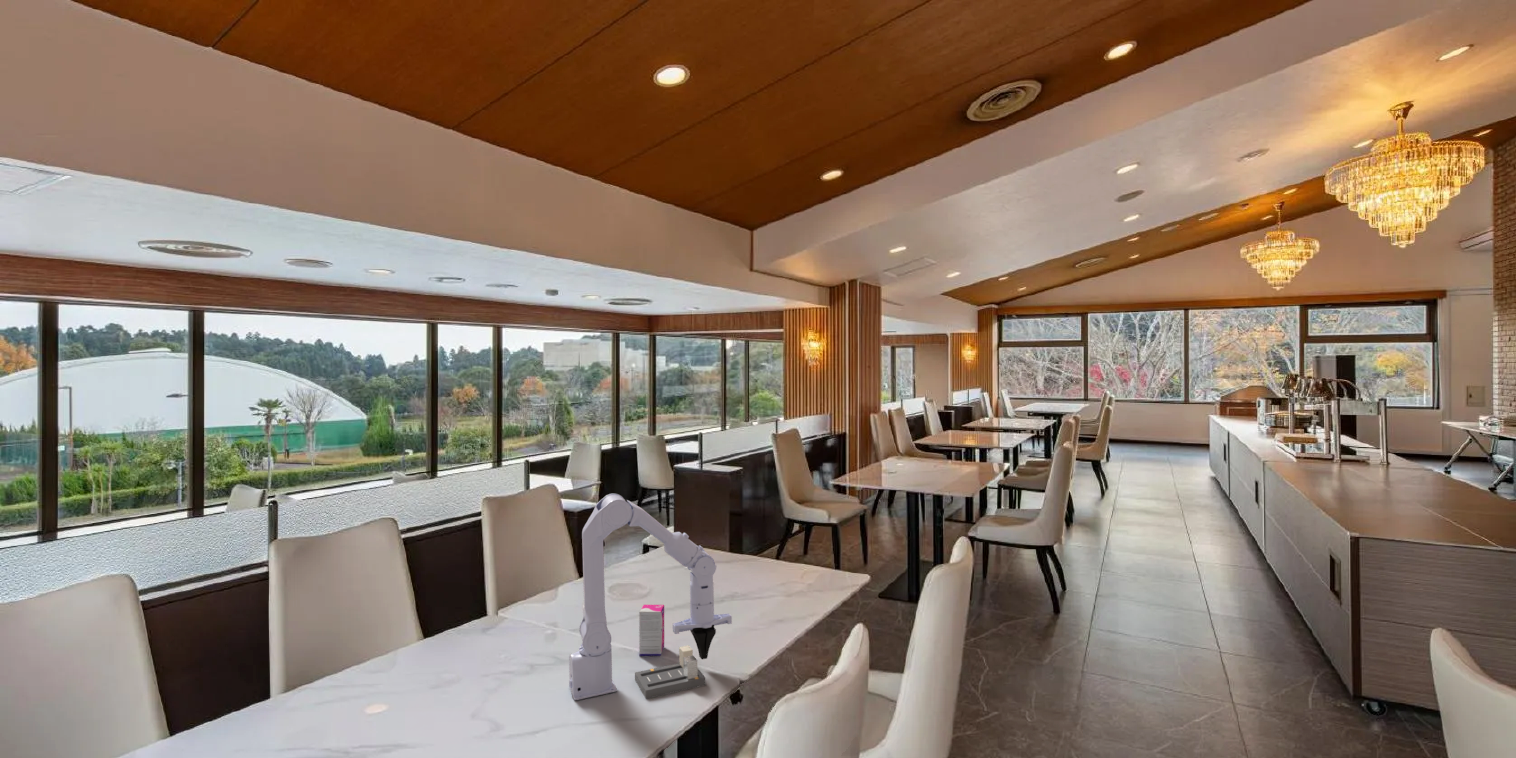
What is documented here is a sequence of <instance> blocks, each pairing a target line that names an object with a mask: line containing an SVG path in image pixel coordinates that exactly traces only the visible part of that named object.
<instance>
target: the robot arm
mask: <svg viewBox="0 0 1516 758" xmlns="http://www.w3.org/2000/svg"><path fill="white" fill-rule="evenodd" d="M626 525H628V527H640V528H641V529H643V530H644V531H646V532H647V533H649V534H650V535H651V536H653V537H654V538H655V539H657V540H658V541H660V542H661V543H663V549H664V553H666V554H667V555H668V556H670V557H671V558H672V559H674V560H675V561H676V562H678V563H679V564H680V565H681V566H683V567H684V568H687V569H688V570H689V571H690V573H689V580H690V581H689V600H690V603H689V604H690V605H689V607H690V609H689V610H690V618H685V619H684V620H682V621H681V620H680V621H677V622H673V623H672V632H673V633H674V634H675V635H678V634H680V633H683V632H687V631H688V632H689V631H690V633H691V635H692V637H693V639H694V641H695V645H696V647H697V651H698V657H699V658H700V659H701V660H707V659H708V657H709V651H710V647H711V644H712V641H713V639H714V637H715V635H716V633H717V629H716V628H715V626H720V625H726V624H727V625H730V624H732V623H733V621H732V620H733V618H732V614H730V613H722V614H721V613H720V614H717V613H716V614H715V597H714V596H715V595H714V594H715V593H714V592H715V591H714V574H715V573H716V571H717V564H716V562H715V559H714V558H713V557H712V556H711V555H710V554H709V553H708V552H706V550H705V549H704V547H703V546H701V545H697V544H696V543H695V542H693V541H692V540H691V539H689V537H690V536H689V535H688V534H687V533H686V532H683V533H682V532H680V531H675V532H671V531H670V530H669V529H668V528H666V526H664V525H662V524H661V523H660V522H659V521H658V520H656V518H655V517H653V516H652V515H650V514H649V513H648V512H647V511H645V510H644V508H642V507H640V506H638V505H637V504H636V503H634V502H632V501H630V500H628V499H625V498H624V497H623V496H622V495H620V494H618V493H609V494H606V495H605V496H604V497H603V498H601V499H600V500H599V501H598V502H597V503H596V504H595V506H594V509H593V511H592V513H591V514H590V516H589V517H588V519H587V521H586V523H585V524H584V526H583V528H582V531H581V539H582V543H581V545H582V546H581V547H582V573H583V574H582V575H583V576H582V577H583V579H582V580H583V581H582V582H583V585H582V586H583V609H582V610H583V611H582V613H583V614H582V615H583V617H582V619H581V622H580V624H579V635H580V637H581V640H582V642H581V644H580V646H579V648H578V649H579V650H578V651H576V652H573V653H571V654H569V656H568V669H569V670H568V673H569V675H568V676H569V680H568V683H569V684H568V685H569V689H570V692H571V695H572V698H573V701H578V700H584V699H588V698H592V697H597V696H601V695H606V694H610V693H615V692H617V690H618V689H617V686H616V684H615V683H614V681H613V662H612V661H613V660H612V657H613V656H612V644H611V643H612V635H611V632H610V631H609V629H608V628H609V627H608V626H607V625H608V624H607V614H606V599H605V598H606V594H605V590H606V589H605V562H604V561H605V560H604V557H605V555H604V540H605V539H606V538H607V537H608V536H610V534H611V533H613V532H614V531H616V530H618V529H620V528H622V527H624V526H626Z"/></svg>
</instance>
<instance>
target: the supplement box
mask: <svg viewBox="0 0 1516 758" xmlns="http://www.w3.org/2000/svg"><path fill="white" fill-rule="evenodd" d="M638 616H639V621H638V622H639V626H638V627H639V628H638V629H639V632H638V633H639V634H638V637H639V641H638V643H639V647H638V648H639V650H638V653H639V655H638V656H639V657H660V656H662V654H663V651H664V649H665V605H664V604H643V605H642V606H641V609H640V610H639V615H638Z"/></svg>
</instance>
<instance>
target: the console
mask: <svg viewBox="0 0 1516 758" xmlns="http://www.w3.org/2000/svg"><path fill="white" fill-rule="evenodd" d="M634 681H635V683H636V684H637V686H638V688H639V689H640V691H641V693H642V694H643V696H644V698H645V700H646V699H647V700H648V699H650V698H651V699H652V698H656V697H659V696H664V695H668V694H672V693H677V692H682V691H686V690H691V689H696V688H699V687H703V686H704V687H705V686H706V685H707V684H706V676H705V675H704V673H702V672H701V670H700V669H699V668H698V678H694V679H689V680H688V679H687V678H686V677H685V676H684V669H683V668H682V666H681V665H680V663H675V664H674V663H673V664H669V665H664V666H660V667H655V668H650V669H646V670H642V671H641V670H640V671H636V672H635V671H634Z"/></svg>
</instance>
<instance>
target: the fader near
mask: <svg viewBox="0 0 1516 758" xmlns="http://www.w3.org/2000/svg"><path fill="white" fill-rule="evenodd" d="M683 666H684V676H685V677H686V678H687V679H688V680H689V679H694V678H698V669H699V668H698V659H697V658H696V657H695V655H692V656H687V657H683Z"/></svg>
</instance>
